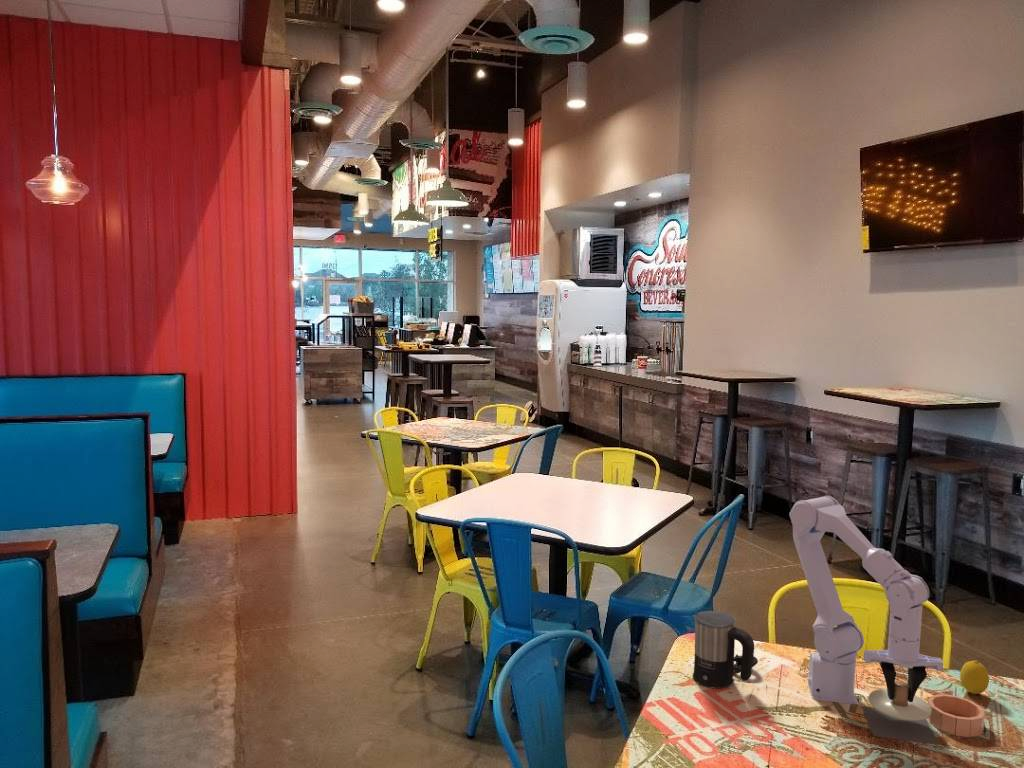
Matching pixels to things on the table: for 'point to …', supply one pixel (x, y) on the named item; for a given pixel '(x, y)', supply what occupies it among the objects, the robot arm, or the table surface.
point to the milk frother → (720, 650)
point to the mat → (898, 727)
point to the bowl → (956, 715)
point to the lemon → (974, 677)
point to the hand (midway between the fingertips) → (899, 698)
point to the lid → (900, 703)
